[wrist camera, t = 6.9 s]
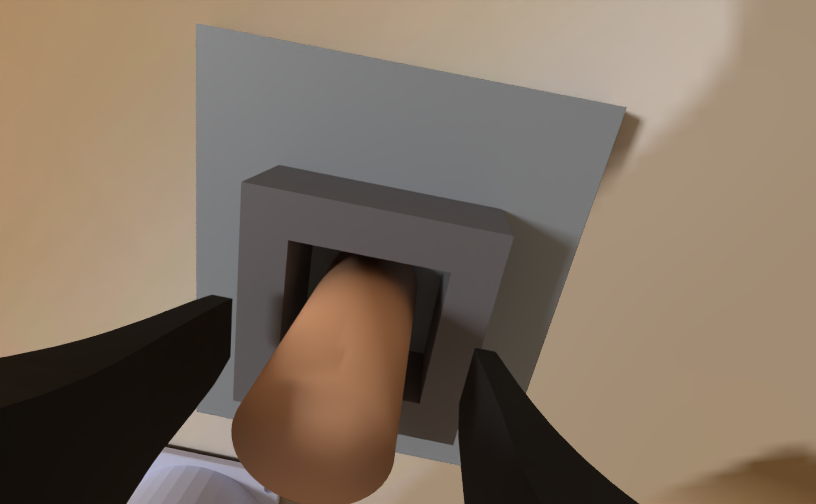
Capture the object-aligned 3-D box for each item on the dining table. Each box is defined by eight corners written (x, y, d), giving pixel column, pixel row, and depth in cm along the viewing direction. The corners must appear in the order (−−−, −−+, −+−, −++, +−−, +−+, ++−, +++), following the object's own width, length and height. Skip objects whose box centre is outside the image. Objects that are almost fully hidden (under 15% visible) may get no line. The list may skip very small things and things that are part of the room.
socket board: (495, 455, 20) (506, 538, 17) (208, 396, 20) (155, 465, 17) (614, 106, 14) (673, 112, 11) (211, 27, 15) (131, 6, 11)
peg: (407, 332, 17) (379, 520, 10) (322, 314, 17) (228, 487, 10) (426, 253, 16) (409, 398, 8) (334, 233, 16) (234, 361, 8)
